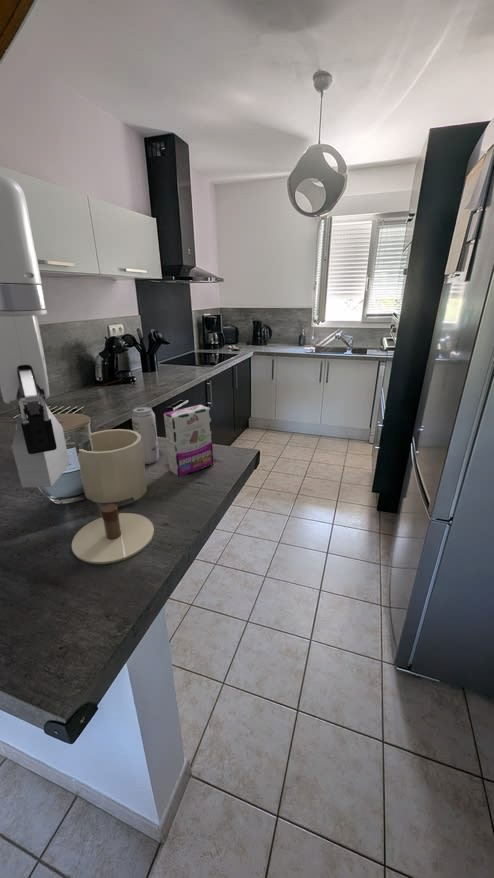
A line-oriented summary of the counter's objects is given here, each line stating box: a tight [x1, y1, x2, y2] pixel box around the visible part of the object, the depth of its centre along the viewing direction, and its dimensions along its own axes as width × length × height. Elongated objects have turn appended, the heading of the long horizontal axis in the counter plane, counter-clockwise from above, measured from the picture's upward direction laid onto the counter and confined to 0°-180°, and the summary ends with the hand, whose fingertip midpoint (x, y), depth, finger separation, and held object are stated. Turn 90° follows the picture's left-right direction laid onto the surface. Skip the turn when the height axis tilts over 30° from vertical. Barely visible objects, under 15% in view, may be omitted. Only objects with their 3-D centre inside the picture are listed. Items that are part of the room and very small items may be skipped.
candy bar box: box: [163, 404, 214, 477], centre depth 92 cm, size 11×5×16 cm, turn 131°
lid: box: [71, 503, 155, 565], centre depth 66 cm, size 15×15×7 cm
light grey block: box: [11, 402, 70, 489], centre depth 48 cm, size 4×7×10 cm, turn 6°
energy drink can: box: [131, 406, 160, 465], centre depth 96 cm, size 6×6×15 cm
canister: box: [78, 428, 148, 507], centre depth 81 cm, size 14×14×14 cm
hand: (39, 439), depth 48 cm, fingers closed on light grey block, 7 cm apart
